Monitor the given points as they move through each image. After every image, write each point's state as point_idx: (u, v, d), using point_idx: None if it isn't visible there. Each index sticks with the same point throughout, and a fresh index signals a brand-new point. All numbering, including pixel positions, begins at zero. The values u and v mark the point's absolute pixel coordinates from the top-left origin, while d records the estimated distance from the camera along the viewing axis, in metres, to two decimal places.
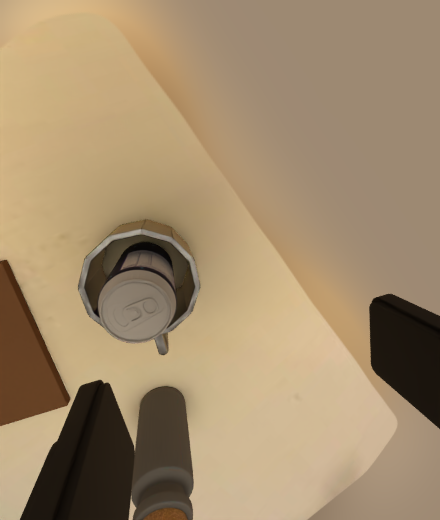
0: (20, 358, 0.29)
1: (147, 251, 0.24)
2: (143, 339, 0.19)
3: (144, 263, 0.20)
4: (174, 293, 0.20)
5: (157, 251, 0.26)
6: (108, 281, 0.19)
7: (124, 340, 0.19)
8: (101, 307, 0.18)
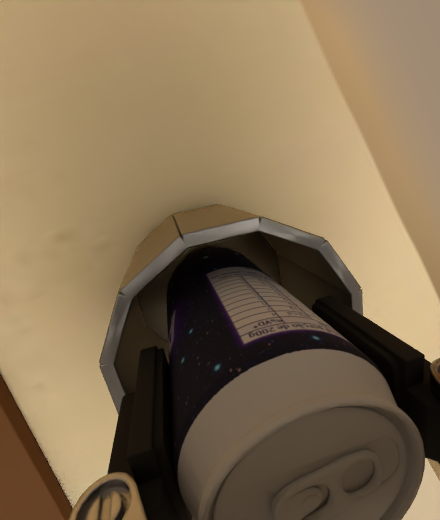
0: None
1: (247, 269, 0.11)
2: None
3: (294, 313, 0.07)
4: None
5: (256, 267, 0.12)
6: (218, 392, 0.05)
7: None
8: (207, 507, 0.05)
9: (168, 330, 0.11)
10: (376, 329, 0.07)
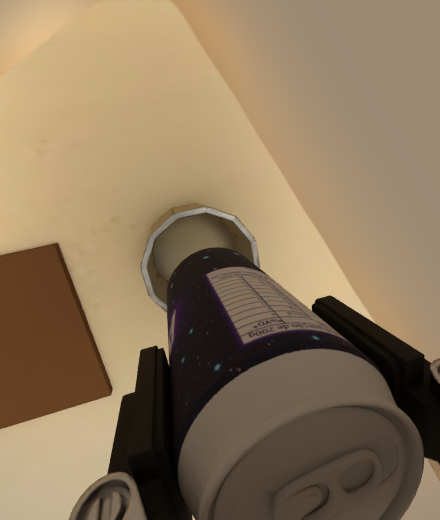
0: (67, 345, 0.28)
1: (247, 269, 0.11)
2: None
3: (293, 314, 0.07)
4: None
5: (256, 267, 0.12)
6: (218, 392, 0.05)
7: None
8: (207, 506, 0.05)
9: (168, 330, 0.11)
10: (376, 329, 0.07)
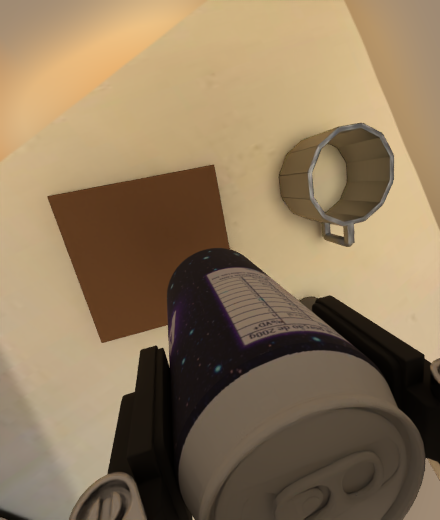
0: None
1: (247, 270, 0.11)
2: None
3: (294, 315, 0.07)
4: None
5: (257, 268, 0.12)
6: (218, 393, 0.05)
7: None
8: (208, 508, 0.05)
9: (168, 331, 0.11)
10: (376, 329, 0.07)
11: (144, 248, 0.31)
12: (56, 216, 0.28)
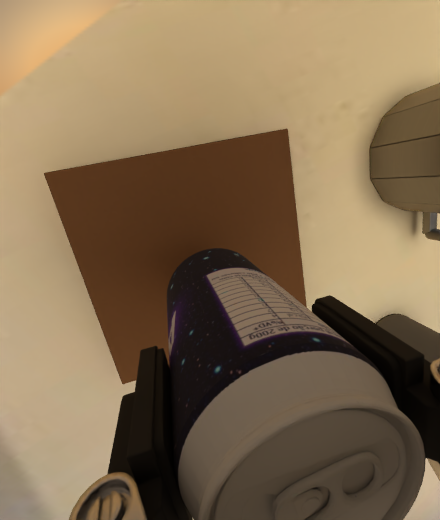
0: (277, 261, 0.23)
1: (247, 270, 0.11)
2: None
3: (294, 315, 0.07)
4: None
5: (257, 268, 0.12)
6: (218, 394, 0.05)
7: None
8: (207, 509, 0.05)
9: (168, 331, 0.11)
10: (376, 329, 0.07)
11: (184, 251, 0.21)
12: (58, 204, 0.19)
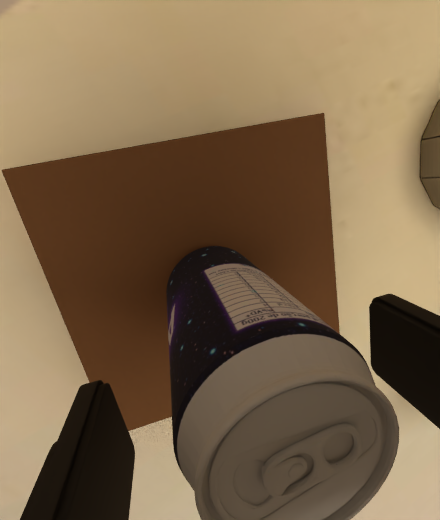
0: (306, 281, 0.19)
1: (243, 266, 0.12)
2: None
3: (284, 304, 0.08)
4: None
5: (252, 264, 0.13)
6: (213, 372, 0.06)
7: None
8: (203, 471, 0.05)
9: (168, 323, 0.11)
10: None
11: None
12: (22, 211, 0.14)
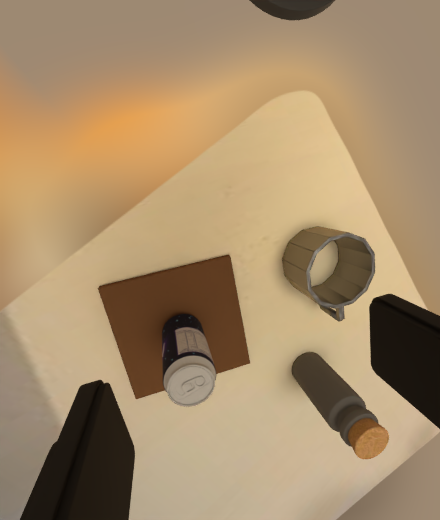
0: (228, 326, 0.40)
1: (189, 328, 0.33)
2: (194, 403, 0.28)
3: (193, 346, 0.29)
4: (215, 369, 0.28)
5: (194, 325, 0.34)
6: (171, 364, 0.27)
7: (182, 405, 0.27)
8: (168, 384, 0.26)
9: (162, 349, 0.32)
10: None
11: None
12: (104, 303, 0.35)
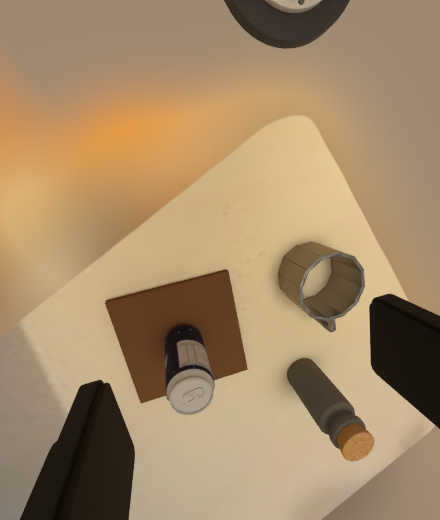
0: (226, 335, 0.42)
1: (189, 341, 0.35)
2: (194, 411, 0.30)
3: (193, 360, 0.31)
4: (213, 380, 0.31)
5: (195, 337, 0.37)
6: (173, 377, 0.30)
7: (183, 413, 0.30)
8: (170, 395, 0.29)
9: (165, 360, 0.35)
10: None
11: None
12: (111, 316, 0.38)
